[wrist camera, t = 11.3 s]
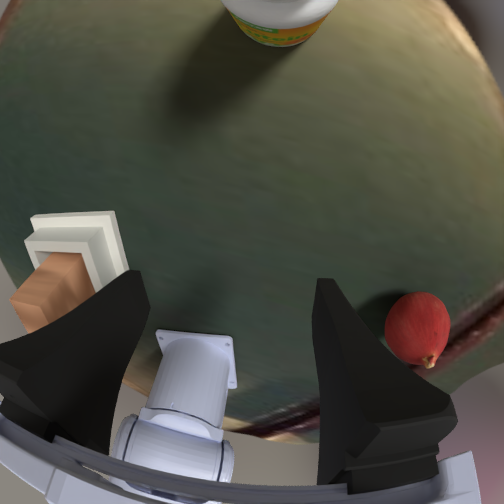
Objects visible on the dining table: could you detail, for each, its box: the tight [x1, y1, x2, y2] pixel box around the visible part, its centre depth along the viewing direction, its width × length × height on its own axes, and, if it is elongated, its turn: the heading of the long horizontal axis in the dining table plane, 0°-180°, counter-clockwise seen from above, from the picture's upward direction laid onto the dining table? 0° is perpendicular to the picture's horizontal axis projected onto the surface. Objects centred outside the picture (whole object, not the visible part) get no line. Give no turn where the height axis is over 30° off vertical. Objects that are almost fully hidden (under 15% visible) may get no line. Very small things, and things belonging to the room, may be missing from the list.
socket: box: [24, 211, 129, 292], centre depth 24 cm, size 10×10×3 cm
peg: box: [10, 252, 96, 333], centre depth 21 cm, size 4×4×8 cm
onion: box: [385, 292, 450, 368], centre depth 21 cm, size 6×6×8 cm
